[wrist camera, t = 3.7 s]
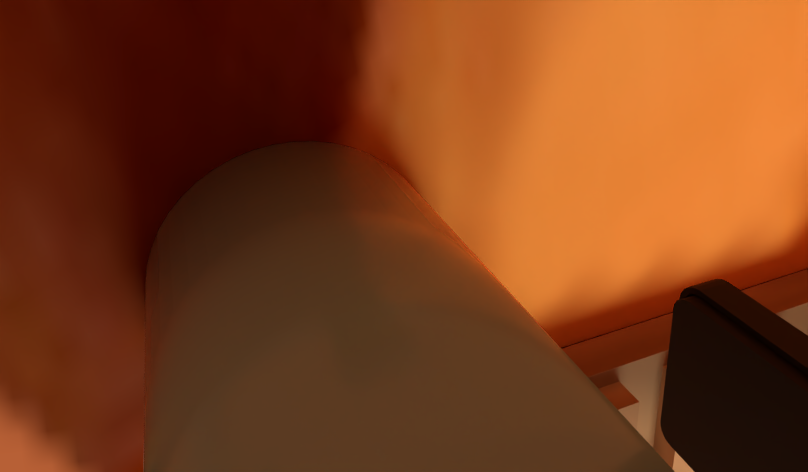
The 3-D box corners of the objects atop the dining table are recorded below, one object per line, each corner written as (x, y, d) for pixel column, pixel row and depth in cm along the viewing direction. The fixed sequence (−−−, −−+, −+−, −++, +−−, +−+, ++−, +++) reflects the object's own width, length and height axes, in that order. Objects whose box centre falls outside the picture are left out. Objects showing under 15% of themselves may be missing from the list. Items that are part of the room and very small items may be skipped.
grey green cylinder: (101, 181, 11) (31, 595, 5) (424, 112, 13) (732, 349, 6) (191, 431, 14) (229, 908, 7) (445, 352, 16) (668, 692, 9)
